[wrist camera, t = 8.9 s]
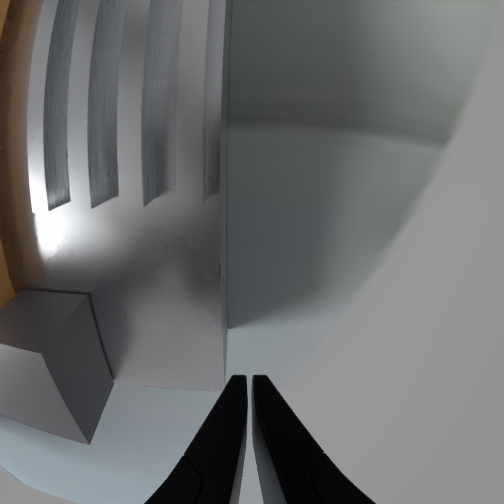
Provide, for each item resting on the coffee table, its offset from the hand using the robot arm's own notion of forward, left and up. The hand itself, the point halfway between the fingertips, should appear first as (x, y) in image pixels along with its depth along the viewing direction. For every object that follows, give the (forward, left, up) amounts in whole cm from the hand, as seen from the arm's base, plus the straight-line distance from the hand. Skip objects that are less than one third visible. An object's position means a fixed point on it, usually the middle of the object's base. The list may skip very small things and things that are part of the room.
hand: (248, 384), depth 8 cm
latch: (0, -8, -1) cm, 8 cm away
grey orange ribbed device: (-8, -8, -5) cm, 13 cm away
